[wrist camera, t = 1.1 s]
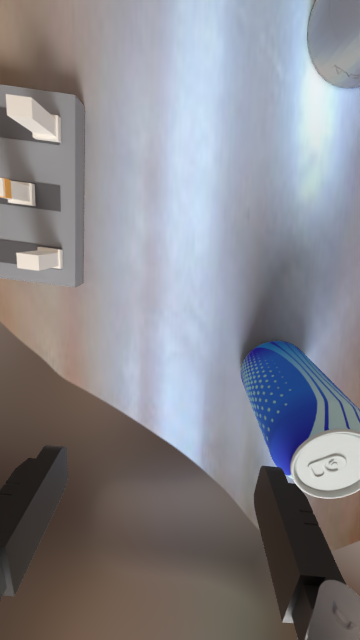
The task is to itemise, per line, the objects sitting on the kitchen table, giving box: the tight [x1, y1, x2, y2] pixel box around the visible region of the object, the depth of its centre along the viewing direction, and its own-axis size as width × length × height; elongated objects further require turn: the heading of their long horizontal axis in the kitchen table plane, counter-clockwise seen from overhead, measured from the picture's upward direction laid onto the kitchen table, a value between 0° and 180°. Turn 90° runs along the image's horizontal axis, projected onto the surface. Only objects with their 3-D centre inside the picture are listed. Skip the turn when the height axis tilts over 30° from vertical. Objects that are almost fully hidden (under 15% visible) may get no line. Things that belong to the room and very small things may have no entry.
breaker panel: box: [0, 84, 85, 287], centre depth 26 cm, size 18×10×7 cm, turn 173°
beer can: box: [241, 341, 360, 498], centre depth 28 cm, size 8×8×16 cm
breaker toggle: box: [0, 178, 36, 206], centre depth 24 cm, size 2×2×5 cm
